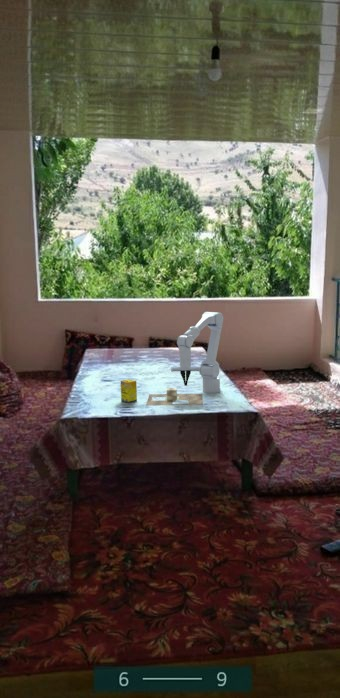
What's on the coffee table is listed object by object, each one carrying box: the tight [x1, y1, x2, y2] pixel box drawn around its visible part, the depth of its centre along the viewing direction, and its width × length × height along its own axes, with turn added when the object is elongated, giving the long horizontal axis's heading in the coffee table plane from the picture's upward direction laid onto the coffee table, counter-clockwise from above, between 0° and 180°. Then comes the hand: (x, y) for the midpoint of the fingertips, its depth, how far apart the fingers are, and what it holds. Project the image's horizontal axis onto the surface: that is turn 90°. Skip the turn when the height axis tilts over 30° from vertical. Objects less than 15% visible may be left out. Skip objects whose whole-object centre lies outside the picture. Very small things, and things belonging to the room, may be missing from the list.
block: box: [166, 387, 178, 401], centre depth 268 cm, size 5×5×5 cm
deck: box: [145, 393, 204, 406], centre depth 267 cm, size 28×22×2 cm
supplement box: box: [120, 378, 138, 404], centre depth 270 cm, size 6×6×11 cm
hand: (185, 385), depth 267 cm, fingers closed
